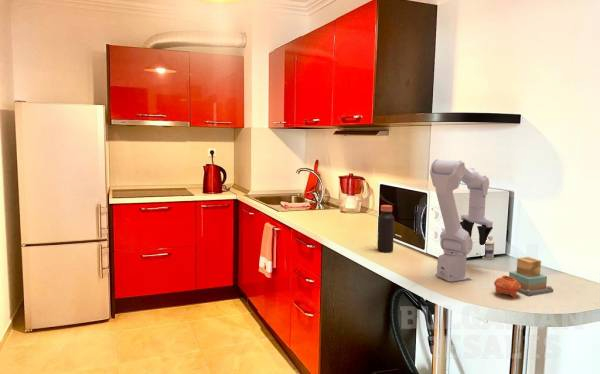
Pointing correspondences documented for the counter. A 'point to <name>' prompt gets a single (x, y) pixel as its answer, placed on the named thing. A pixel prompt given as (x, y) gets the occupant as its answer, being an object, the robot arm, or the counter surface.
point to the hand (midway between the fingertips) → (474, 242)
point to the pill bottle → (489, 249)
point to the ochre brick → (528, 266)
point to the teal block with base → (531, 284)
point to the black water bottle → (385, 229)
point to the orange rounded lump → (507, 285)
